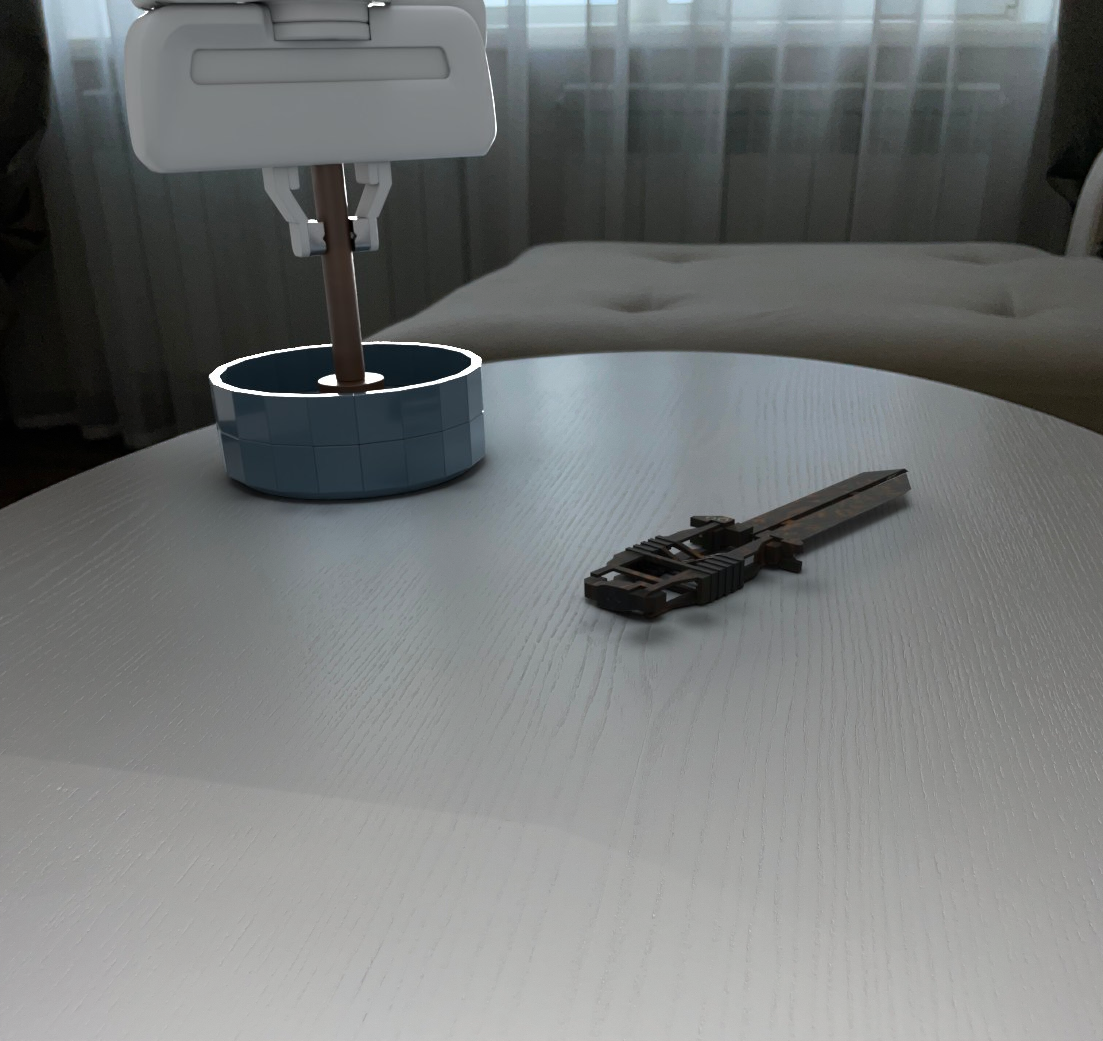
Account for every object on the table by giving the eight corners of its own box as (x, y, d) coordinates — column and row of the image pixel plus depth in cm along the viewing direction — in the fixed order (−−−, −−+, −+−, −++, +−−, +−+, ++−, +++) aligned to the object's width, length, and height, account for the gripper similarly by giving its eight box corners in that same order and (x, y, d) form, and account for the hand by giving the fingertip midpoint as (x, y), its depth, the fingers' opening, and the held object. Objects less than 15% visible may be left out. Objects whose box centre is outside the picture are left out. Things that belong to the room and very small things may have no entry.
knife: (884, 478, 67) (886, 454, 66) (984, 501, 63) (987, 476, 62) (553, 589, 53) (552, 560, 52) (652, 629, 49) (652, 598, 48)
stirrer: (308, 401, 69) (268, 98, 62) (336, 387, 73) (302, 97, 65) (369, 403, 68) (336, 95, 61) (395, 389, 72) (367, 95, 64)
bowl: (174, 495, 68) (155, 391, 65) (299, 427, 81) (288, 339, 78) (432, 511, 64) (423, 401, 61) (518, 437, 77) (514, 344, 74)
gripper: (458, -24, 67) (473, 235, 73) (92, -31, 58) (147, 263, 65) (508, -37, 62) (520, 242, 68) (117, -45, 53) (173, 274, 60)
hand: (336, 253), depth 67 cm, fingers closed on stirrer, 2 cm apart
